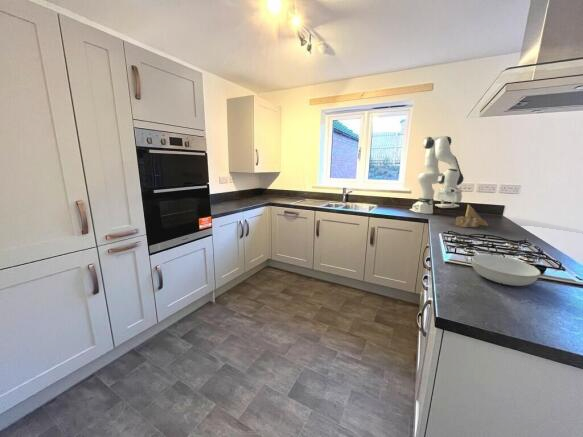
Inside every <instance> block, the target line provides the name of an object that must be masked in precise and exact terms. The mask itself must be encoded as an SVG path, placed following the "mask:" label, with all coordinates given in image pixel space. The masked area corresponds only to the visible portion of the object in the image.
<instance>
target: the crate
mask: <svg viewBox="0 0 583 437" xmlns="http://www.w3.org/2000/svg"><path fill="white" fill-rule="evenodd" d="M479 219H480V218H478V217H474V216H466V215H464V216H456V218H455V224H454V226H455V227H459V228H474V227H479V225H478V224H479Z"/></svg>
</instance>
